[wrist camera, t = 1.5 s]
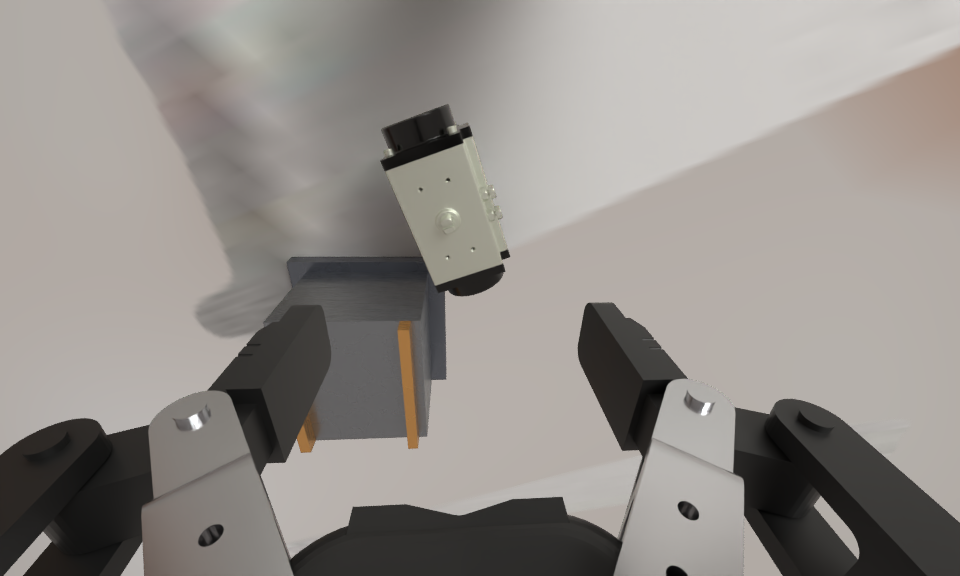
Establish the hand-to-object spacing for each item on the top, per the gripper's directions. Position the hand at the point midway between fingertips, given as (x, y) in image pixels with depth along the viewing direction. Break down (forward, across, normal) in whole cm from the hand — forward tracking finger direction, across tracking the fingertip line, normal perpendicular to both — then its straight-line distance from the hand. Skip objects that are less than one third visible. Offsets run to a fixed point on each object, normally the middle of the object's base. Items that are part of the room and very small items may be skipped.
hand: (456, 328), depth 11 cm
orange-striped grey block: (+23, +8, +14) cm, 28 cm away
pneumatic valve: (+23, 0, 0) cm, 23 cm away
